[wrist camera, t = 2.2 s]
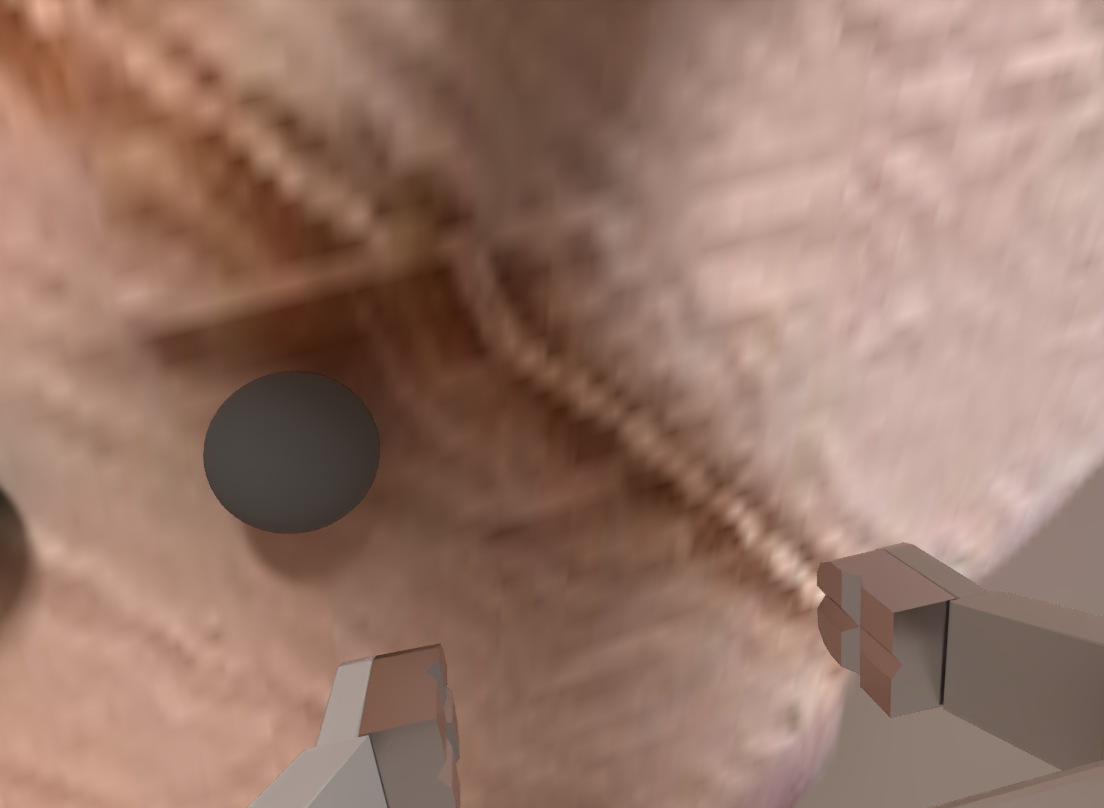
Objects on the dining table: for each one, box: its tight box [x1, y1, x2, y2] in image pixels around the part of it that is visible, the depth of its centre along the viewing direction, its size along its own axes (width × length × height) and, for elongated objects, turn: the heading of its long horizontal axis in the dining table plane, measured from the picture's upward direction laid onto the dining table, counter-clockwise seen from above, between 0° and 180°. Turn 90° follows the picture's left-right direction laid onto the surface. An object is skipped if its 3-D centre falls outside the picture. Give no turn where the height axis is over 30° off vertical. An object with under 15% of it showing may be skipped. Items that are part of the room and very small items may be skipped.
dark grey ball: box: [203, 372, 380, 533], centre depth 22 cm, size 6×6×6 cm
